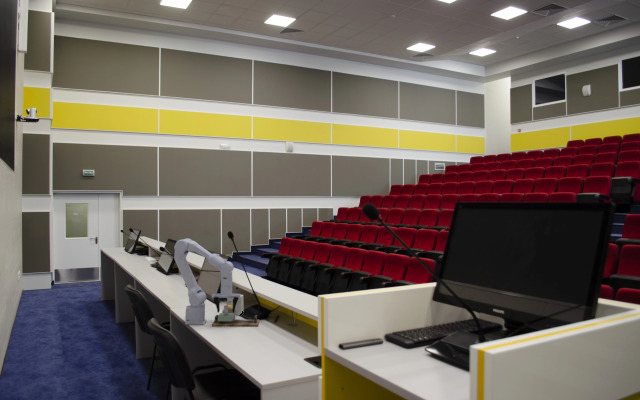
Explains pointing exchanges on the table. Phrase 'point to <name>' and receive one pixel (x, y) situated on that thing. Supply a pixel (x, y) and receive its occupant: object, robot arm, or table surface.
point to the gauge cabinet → (230, 312)
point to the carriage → (226, 315)
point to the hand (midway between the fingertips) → (226, 312)
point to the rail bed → (236, 323)
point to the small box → (237, 305)
